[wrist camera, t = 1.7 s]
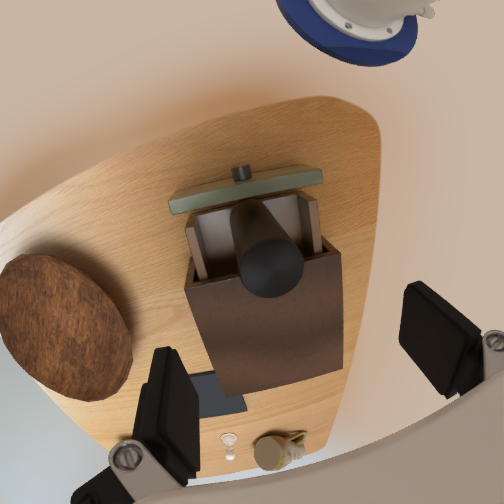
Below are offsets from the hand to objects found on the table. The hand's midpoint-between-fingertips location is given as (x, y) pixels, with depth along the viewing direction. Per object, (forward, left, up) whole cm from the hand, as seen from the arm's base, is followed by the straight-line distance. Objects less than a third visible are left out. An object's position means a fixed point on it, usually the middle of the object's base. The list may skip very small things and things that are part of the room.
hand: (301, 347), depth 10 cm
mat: (+11, +24, -20) cm, 33 cm away
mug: (+2, +42, -20) cm, 47 cm away
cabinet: (0, +10, -20) cm, 22 cm away
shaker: (0, 0, -18) cm, 18 cm away
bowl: (+25, +7, -20) cm, 33 cm away
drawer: (0, +2, -19) cm, 19 cm away
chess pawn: (+11, +37, -20) cm, 44 cm away
